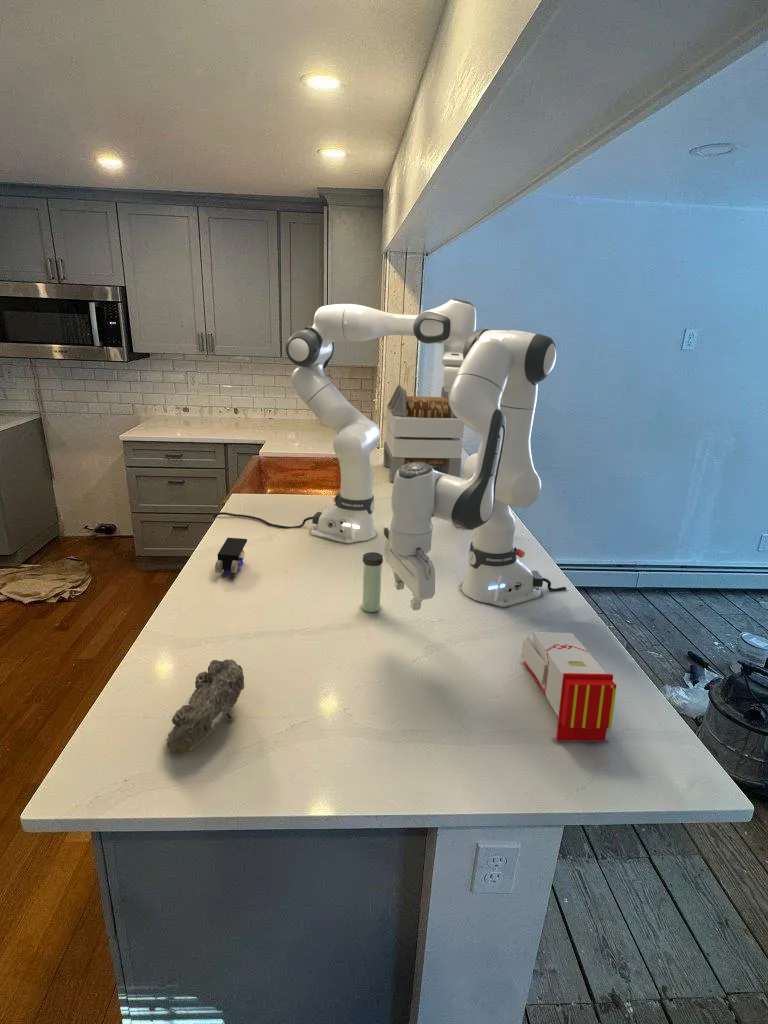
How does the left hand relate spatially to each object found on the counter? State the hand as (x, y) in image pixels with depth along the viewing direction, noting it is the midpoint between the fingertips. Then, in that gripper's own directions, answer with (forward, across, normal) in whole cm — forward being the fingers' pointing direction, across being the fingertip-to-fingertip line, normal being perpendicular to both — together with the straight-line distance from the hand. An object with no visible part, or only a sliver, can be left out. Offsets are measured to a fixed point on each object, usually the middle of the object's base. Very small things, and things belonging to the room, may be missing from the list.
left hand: (454, 403), depth 174 cm
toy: (+48, +69, +37) cm, 92 cm away
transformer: (+48, -86, -27) cm, 102 cm away
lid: (+33, +48, -10) cm, 59 cm away
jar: (+48, +48, -10) cm, 68 cm away
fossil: (+48, +98, -26) cm, 112 cm away
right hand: (+33, +67, +3) cm, 74 cm away
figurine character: (+48, +40, -55) cm, 84 cm away
